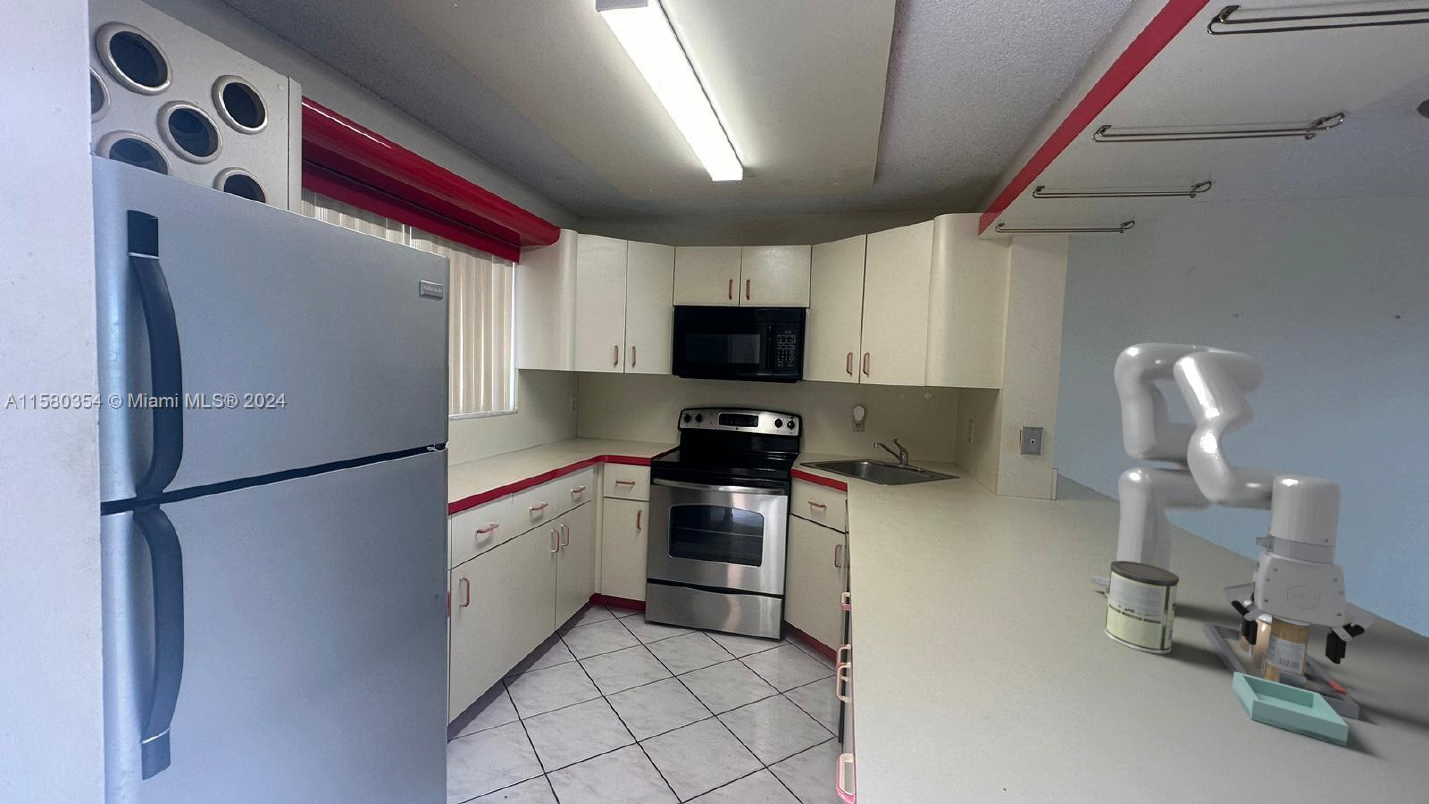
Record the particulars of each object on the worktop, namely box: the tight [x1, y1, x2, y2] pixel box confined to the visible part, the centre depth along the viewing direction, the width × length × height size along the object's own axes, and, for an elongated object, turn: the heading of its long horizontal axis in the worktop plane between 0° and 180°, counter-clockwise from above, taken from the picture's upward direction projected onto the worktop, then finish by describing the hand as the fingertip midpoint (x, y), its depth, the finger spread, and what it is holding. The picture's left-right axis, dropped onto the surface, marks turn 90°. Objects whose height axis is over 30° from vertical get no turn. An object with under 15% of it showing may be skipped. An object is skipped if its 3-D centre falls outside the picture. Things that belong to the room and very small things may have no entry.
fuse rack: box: [1202, 621, 1360, 720], centre depth 94 cm, size 13×24×4 cm, turn 147°
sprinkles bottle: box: [1263, 616, 1312, 682], centre depth 88 cm, size 5×5×14 cm
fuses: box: [1239, 599, 1272, 669], centre depth 97 cm, size 4×11×9 cm, turn 147°
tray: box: [1231, 671, 1349, 748], centre depth 80 cm, size 10×10×3 cm
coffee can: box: [1104, 560, 1180, 655], centre depth 102 cm, size 10×10×14 cm
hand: (1290, 650), depth 88 cm, fingers open, 9 cm apart
